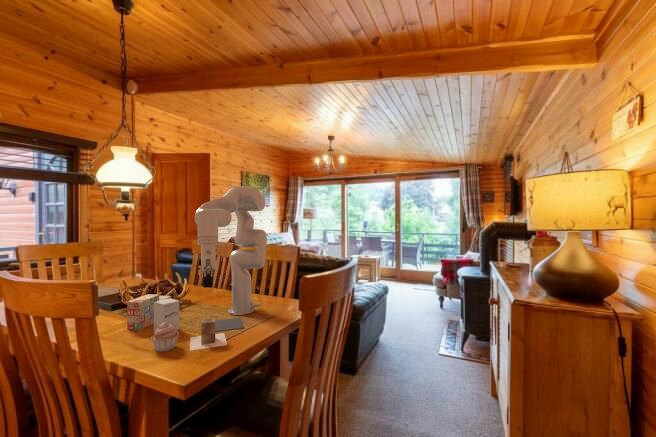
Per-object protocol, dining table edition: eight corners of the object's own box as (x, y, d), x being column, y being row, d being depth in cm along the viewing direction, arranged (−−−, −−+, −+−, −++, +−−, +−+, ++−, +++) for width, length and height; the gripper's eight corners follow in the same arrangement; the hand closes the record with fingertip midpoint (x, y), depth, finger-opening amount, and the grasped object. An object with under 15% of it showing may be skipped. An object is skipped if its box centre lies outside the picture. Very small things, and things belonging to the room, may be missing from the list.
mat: (240, 318, 151) (240, 317, 151) (244, 328, 138) (244, 327, 138) (208, 322, 145) (208, 321, 145) (210, 333, 132) (210, 331, 132)
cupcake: (175, 353, 113) (175, 325, 113) (147, 355, 112) (147, 327, 111) (182, 342, 123) (182, 317, 122) (155, 344, 121) (155, 318, 120)
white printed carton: (160, 314, 157) (160, 289, 157) (172, 314, 156) (172, 289, 156) (126, 329, 136) (126, 301, 136) (139, 330, 135) (139, 301, 135)
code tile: (224, 333, 132) (224, 332, 132) (227, 345, 120) (227, 344, 120) (190, 337, 127) (190, 337, 127) (189, 350, 115) (189, 350, 115)
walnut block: (214, 337, 127) (214, 317, 127) (215, 342, 122) (215, 321, 122) (201, 339, 125) (201, 319, 125) (201, 344, 120) (201, 323, 120)
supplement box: (163, 335, 130) (163, 304, 130) (153, 331, 134) (153, 301, 134) (179, 329, 136) (179, 300, 136) (169, 326, 140) (169, 297, 140)
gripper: (219, 242, 117) (219, 288, 117) (216, 238, 133) (216, 279, 133) (197, 242, 114) (197, 290, 114) (197, 239, 130) (197, 280, 130)
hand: (207, 284), depth 123 cm, fingers open, 9 cm apart
